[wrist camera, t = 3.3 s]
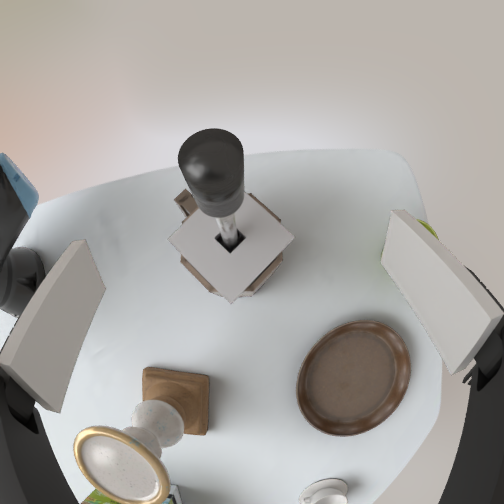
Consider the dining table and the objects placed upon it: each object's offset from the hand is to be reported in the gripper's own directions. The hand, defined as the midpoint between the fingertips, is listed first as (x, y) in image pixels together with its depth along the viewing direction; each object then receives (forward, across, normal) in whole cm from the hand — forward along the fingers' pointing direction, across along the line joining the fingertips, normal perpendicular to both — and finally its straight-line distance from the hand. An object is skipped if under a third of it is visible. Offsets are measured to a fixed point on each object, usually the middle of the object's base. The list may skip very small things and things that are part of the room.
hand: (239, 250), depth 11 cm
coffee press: (+28, -2, -19) cm, 33 cm away
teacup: (-7, +11, -54) cm, 56 cm away
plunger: (+20, -1, -12) cm, 23 cm away
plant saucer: (+12, +16, -35) cm, 41 cm away
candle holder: (+11, -13, -36) cm, 40 cm away
